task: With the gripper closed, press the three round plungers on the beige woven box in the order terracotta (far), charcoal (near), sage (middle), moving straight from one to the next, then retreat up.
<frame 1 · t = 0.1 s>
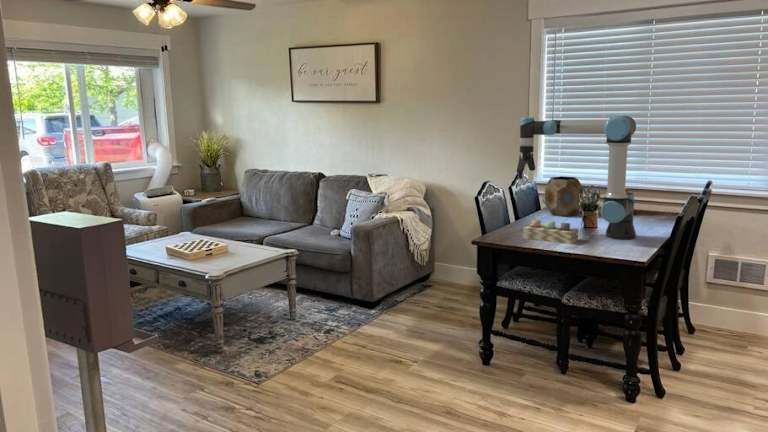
hand: (525, 183, 324), 28 cm above the table, fingers open, 13 cm apart
brown dodecahedron: (563, 214, 379), on the table
button sage: (550, 225, 308), point 7 cm above the table, slide at 0.0 cm
mug: (550, 206, 407), on the table
button charcoal: (565, 227, 304), point 7 cm above the table, slide at 0.0 cm
beige woven box: (550, 238, 310), on the table
owl figurine: (625, 213, 375), on the table
button terracotta: (536, 224, 313), point 7 cm above the table, slide at 0.0 cm
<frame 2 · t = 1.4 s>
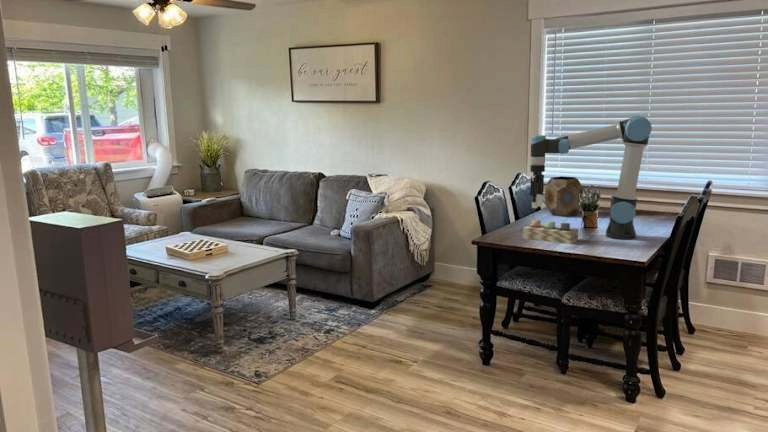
hand: (536, 207, 311), 17 cm above the table, fingers open, 5 cm apart
nothing on the table moved.
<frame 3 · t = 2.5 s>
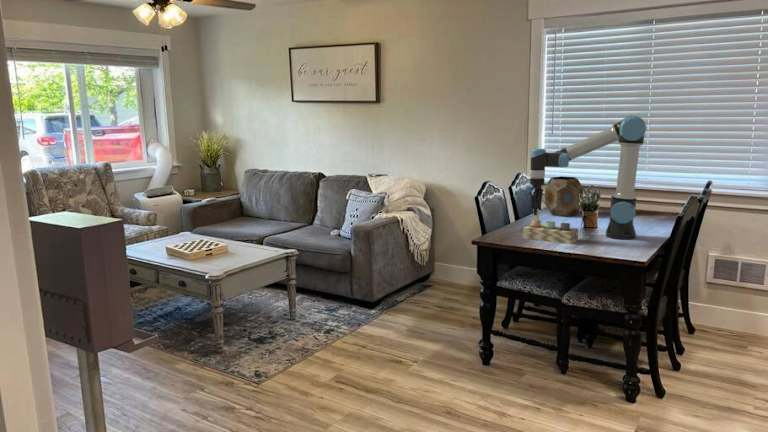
hand: (535, 220, 313), 9 cm above the table, fingers closed
button terracotta: (536, 224, 313), point 7 cm above the table, slide at 0.2 cm, touching gripper
everything else where it was.
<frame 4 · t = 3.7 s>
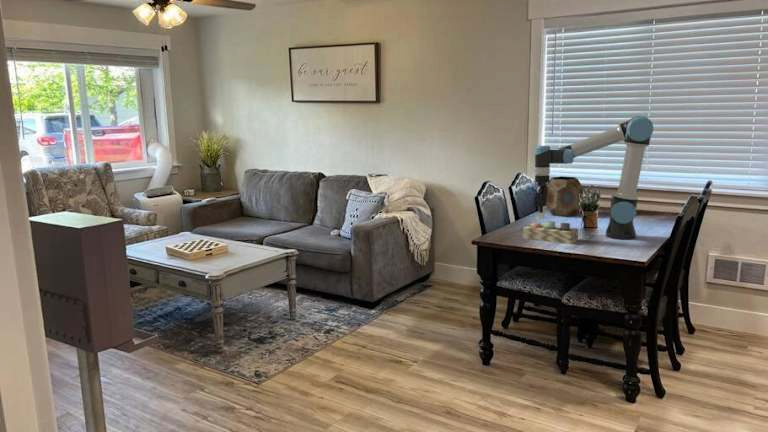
hand: (541, 218, 311), 11 cm above the table, fingers closed
button terracotta: (536, 227, 313), point 6 cm above the table, slide at 1.6 cm
everything else where it was.
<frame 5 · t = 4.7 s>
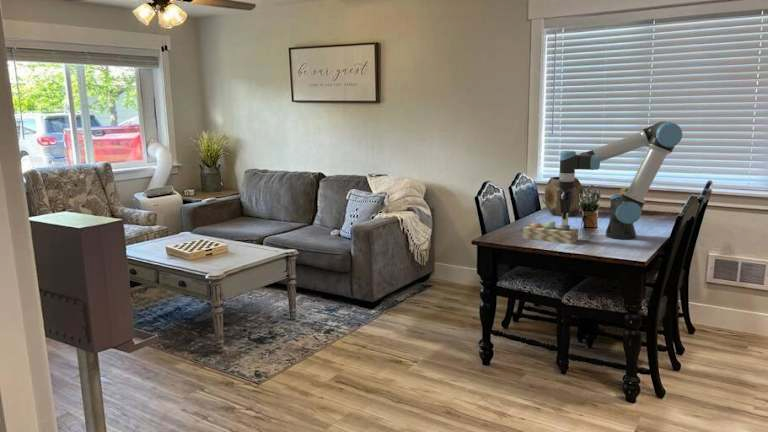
hand: (564, 225, 303), 8 cm above the table, fingers closed
button charcoal: (565, 229, 304), point 6 cm above the table, slide at 1.0 cm, touching gripper
everything else where it was.
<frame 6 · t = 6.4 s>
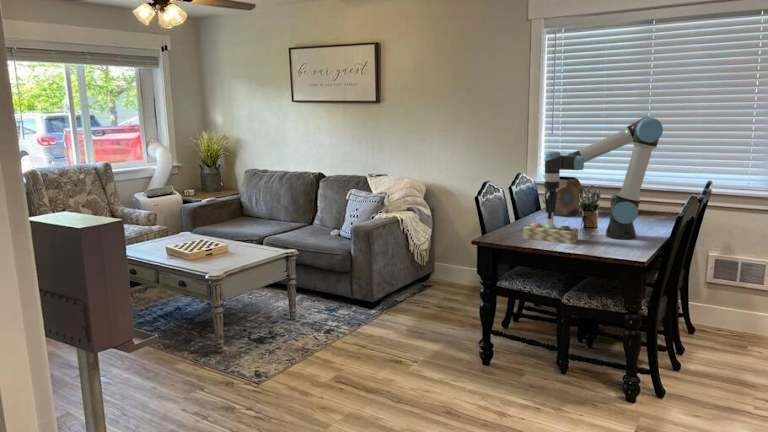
hand: (550, 224, 308), 8 cm above the table, fingers closed
button sage: (550, 228, 309), point 6 cm above the table, slide at 1.5 cm, touching gripper
button charcoal: (565, 230, 304), point 6 cm above the table, slide at 1.7 cm
everything else where it was.
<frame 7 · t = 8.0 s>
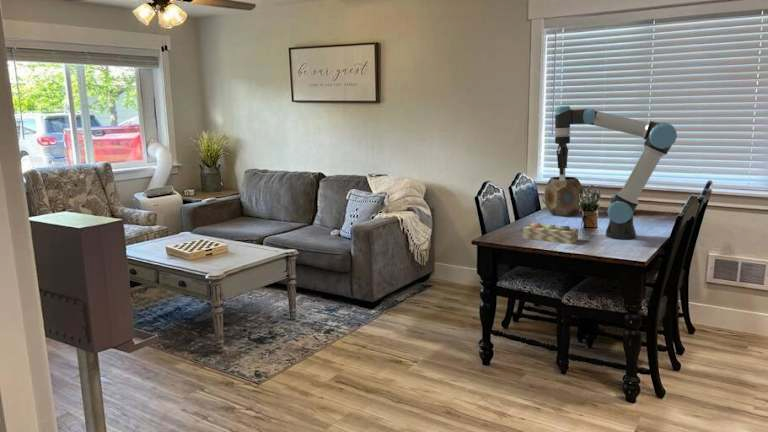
hand: (562, 180, 306), 31 cm above the table, fingers closed
button sage: (550, 228, 309), point 6 cm above the table, slide at 1.7 cm
everything else where it was.
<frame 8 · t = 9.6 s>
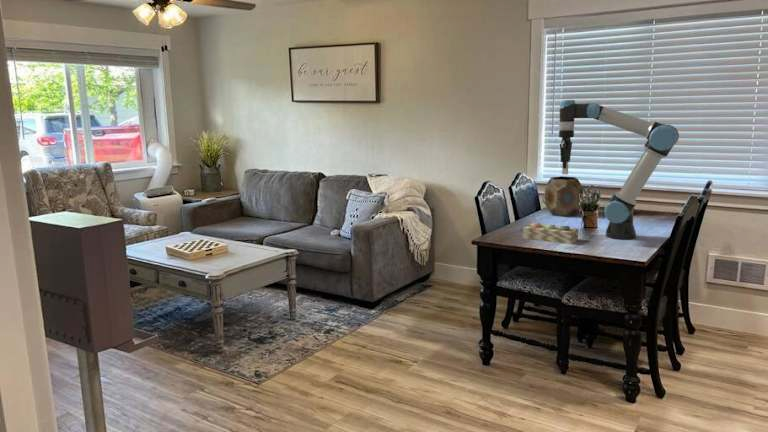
hand: (565, 174, 307), 34 cm above the table, fingers closed
nothing on the table moved.
at the end: button terracotta slide at 1.6 cm; button charcoal slide at 1.7 cm; button sage slide at 1.7 cm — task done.
